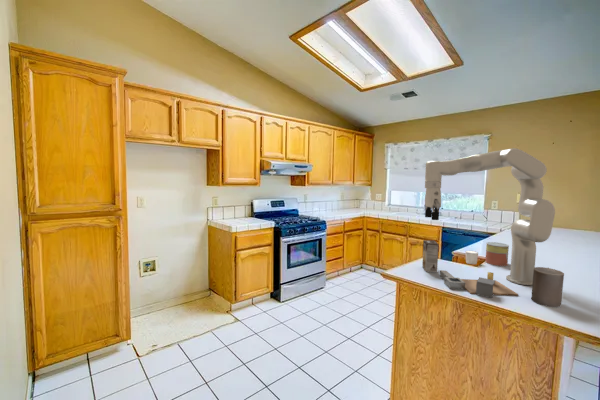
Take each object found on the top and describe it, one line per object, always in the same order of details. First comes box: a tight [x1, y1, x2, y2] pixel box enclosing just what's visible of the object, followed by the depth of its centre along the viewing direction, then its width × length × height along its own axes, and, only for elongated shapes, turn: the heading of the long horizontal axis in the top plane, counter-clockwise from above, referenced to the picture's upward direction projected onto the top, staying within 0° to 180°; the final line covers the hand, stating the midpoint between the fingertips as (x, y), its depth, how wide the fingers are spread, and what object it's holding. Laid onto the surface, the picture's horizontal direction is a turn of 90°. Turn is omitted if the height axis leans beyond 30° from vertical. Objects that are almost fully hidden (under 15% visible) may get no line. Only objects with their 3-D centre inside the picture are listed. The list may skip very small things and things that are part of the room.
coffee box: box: [422, 239, 440, 273], centre depth 161 cm, size 9×6×16 cm
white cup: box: [465, 250, 479, 265], centre depth 174 cm, size 7×7×7 cm
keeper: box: [475, 277, 495, 299], centre depth 127 cm, size 7×6×6 cm
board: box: [460, 278, 519, 297], centre depth 135 cm, size 20×17×1 cm
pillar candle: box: [530, 266, 565, 308], centre depth 119 cm, size 10×10×15 cm
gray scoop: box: [439, 269, 465, 290], centre depth 141 cm, size 17×7×3 cm, turn 174°
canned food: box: [484, 241, 510, 267], centre depth 173 cm, size 11×11×12 cm
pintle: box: [486, 271, 494, 280], centre depth 138 cm, size 2×2×5 cm
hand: (431, 218), depth 145 cm, fingers open, 9 cm apart
